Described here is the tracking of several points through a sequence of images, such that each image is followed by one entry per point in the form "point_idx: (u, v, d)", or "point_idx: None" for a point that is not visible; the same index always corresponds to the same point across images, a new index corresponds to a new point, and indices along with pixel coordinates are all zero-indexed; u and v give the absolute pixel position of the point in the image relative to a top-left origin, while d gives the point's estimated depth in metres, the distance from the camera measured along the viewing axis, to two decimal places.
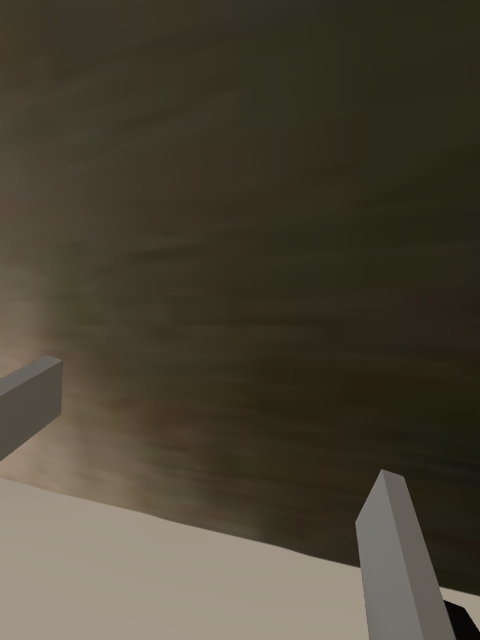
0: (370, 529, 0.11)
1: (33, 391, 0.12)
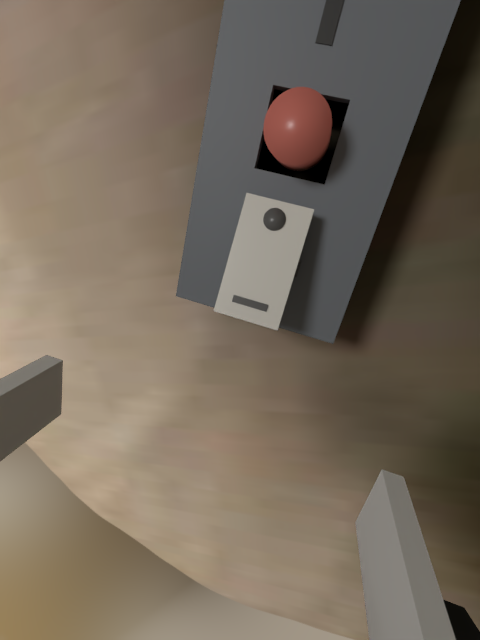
0: (370, 529, 0.11)
1: (33, 391, 0.12)
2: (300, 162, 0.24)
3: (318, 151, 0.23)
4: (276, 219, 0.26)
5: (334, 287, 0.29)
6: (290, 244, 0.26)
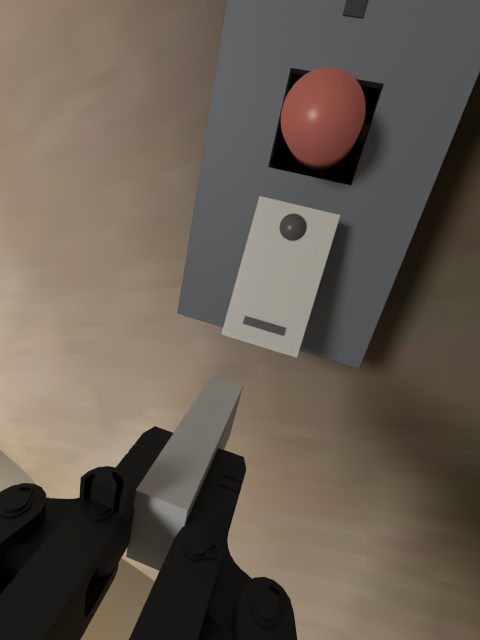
0: None
1: None
2: (325, 159, 0.20)
3: (348, 145, 0.19)
4: (294, 226, 0.22)
5: (361, 304, 0.25)
6: (311, 256, 0.22)
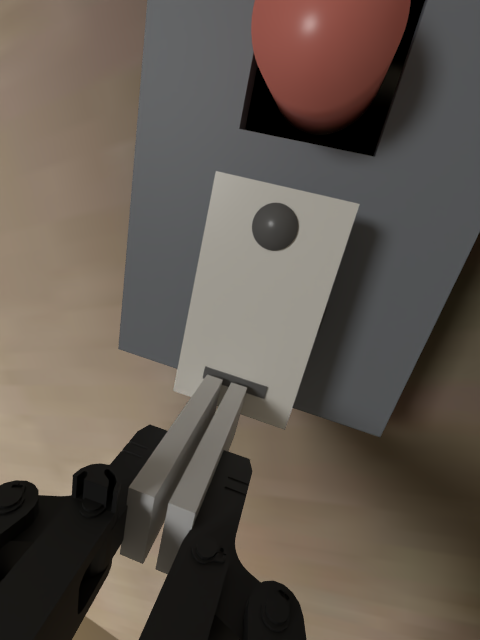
0: None
1: (209, 409, 0.13)
2: (332, 103, 0.11)
3: (374, 75, 0.10)
4: (277, 226, 0.13)
5: (386, 345, 0.16)
6: (307, 277, 0.13)
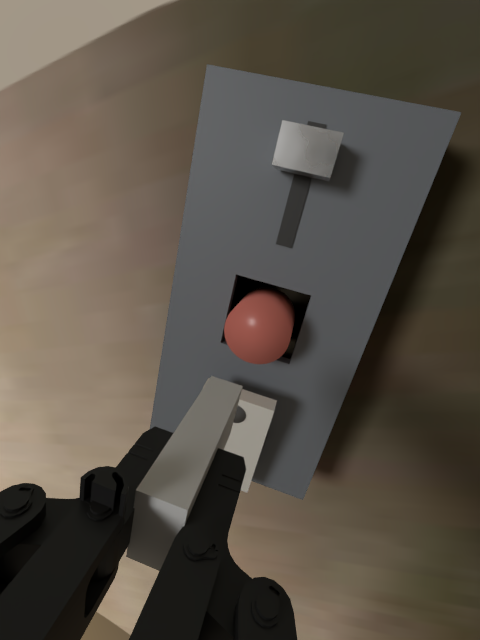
0: None
1: None
2: (261, 363, 0.24)
3: (278, 356, 0.23)
4: (236, 413, 0.25)
5: (302, 452, 0.29)
6: (252, 435, 0.25)
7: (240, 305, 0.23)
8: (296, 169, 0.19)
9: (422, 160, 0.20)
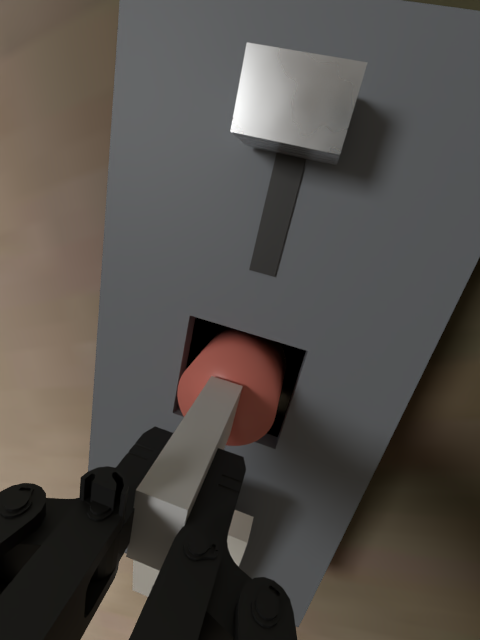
0: None
1: None
2: (233, 444, 0.16)
3: (258, 436, 0.15)
4: None
5: (296, 568, 0.20)
6: None
7: (199, 361, 0.15)
8: (276, 140, 0.10)
9: None
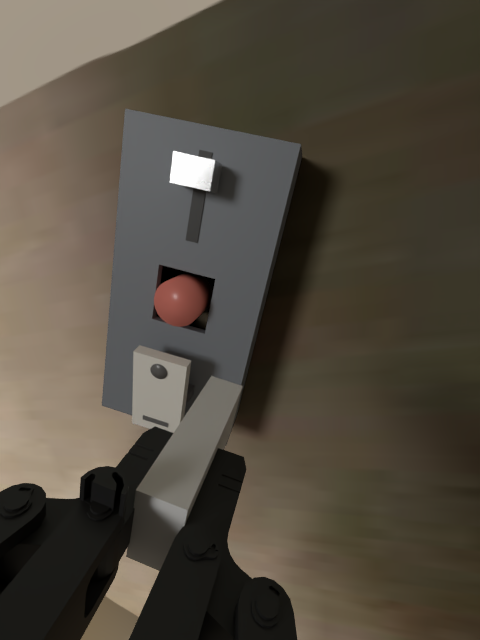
0: None
1: None
2: (182, 325, 0.33)
3: (193, 320, 0.32)
4: (160, 371, 0.32)
5: None
6: (174, 388, 0.33)
7: (163, 283, 0.32)
8: (186, 185, 0.27)
9: (280, 177, 0.28)
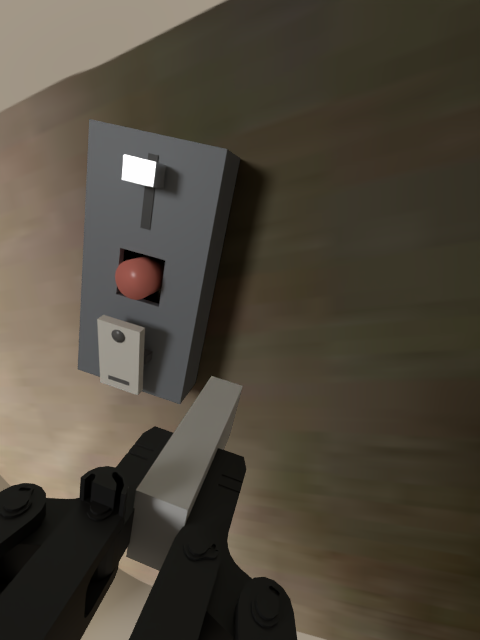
0: None
1: None
2: (138, 299, 0.39)
3: (146, 294, 0.39)
4: (119, 336, 0.39)
5: (174, 368, 0.43)
6: (131, 351, 0.40)
7: (122, 263, 0.38)
8: (135, 182, 0.34)
9: (212, 176, 0.34)
